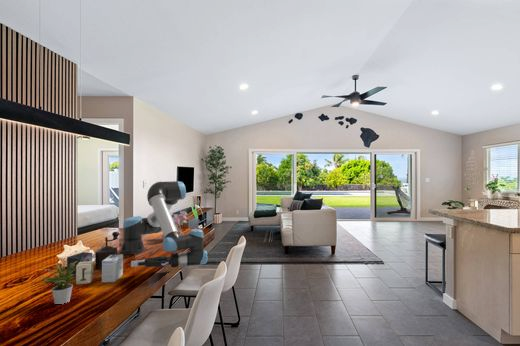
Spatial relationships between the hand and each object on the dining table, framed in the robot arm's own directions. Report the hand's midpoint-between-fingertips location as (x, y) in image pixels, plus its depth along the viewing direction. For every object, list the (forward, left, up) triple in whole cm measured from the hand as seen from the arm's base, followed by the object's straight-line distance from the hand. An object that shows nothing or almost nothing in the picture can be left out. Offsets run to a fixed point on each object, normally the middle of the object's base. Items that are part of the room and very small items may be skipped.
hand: (131, 264), depth 148 cm
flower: (-80, +23, -7) cm, 84 cm away
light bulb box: (0, -9, -7) cm, 11 cm away
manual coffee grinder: (-26, -15, -7) cm, 31 cm away
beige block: (0, -21, -6) cm, 22 cm away
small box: (-12, -26, -7) cm, 29 cm away
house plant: (+22, -24, -7) cm, 33 cm away
